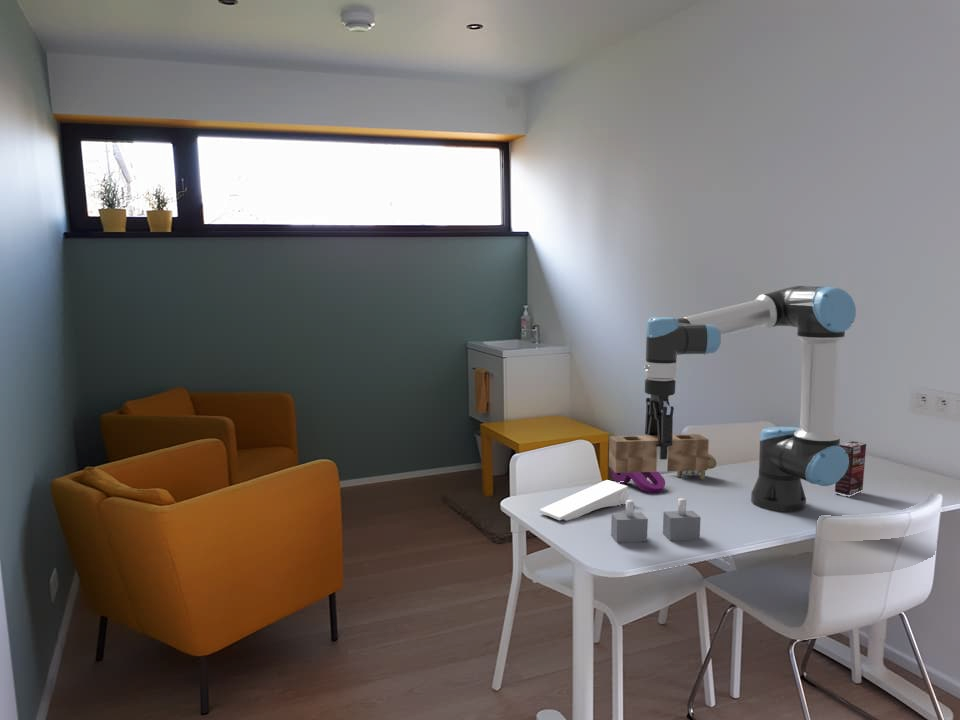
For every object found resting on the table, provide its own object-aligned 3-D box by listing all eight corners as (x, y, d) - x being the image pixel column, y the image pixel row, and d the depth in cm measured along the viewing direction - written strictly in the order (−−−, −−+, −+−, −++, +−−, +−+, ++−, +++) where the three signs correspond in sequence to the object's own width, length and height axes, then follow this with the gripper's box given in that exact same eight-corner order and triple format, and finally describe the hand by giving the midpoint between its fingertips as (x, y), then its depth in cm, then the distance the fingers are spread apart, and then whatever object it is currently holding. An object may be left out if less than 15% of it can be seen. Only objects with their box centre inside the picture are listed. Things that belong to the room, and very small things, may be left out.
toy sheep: (715, 483, 235) (716, 450, 233) (662, 478, 240) (663, 445, 239) (716, 474, 245) (717, 442, 243) (665, 470, 250) (666, 438, 249)
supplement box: (849, 498, 220) (853, 447, 218) (834, 494, 224) (837, 444, 222) (863, 493, 225) (867, 443, 223) (848, 489, 229) (851, 440, 227)
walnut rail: (698, 463, 189) (699, 434, 188) (707, 470, 183) (708, 439, 182) (608, 466, 187) (609, 436, 186) (615, 472, 181) (616, 441, 180)
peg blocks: (691, 532, 191) (693, 496, 190) (699, 539, 186) (701, 502, 185) (611, 535, 189) (612, 498, 187) (616, 542, 184) (617, 504, 182)
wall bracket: (561, 542, 199) (628, 509, 216) (563, 520, 197) (631, 488, 213) (536, 524, 207) (604, 493, 223) (539, 502, 204) (606, 473, 220)
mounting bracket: (662, 506, 230) (631, 469, 244) (671, 486, 226) (639, 450, 240) (638, 510, 226) (608, 473, 240) (647, 490, 222) (615, 453, 235)
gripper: (634, 373, 191) (631, 458, 194) (658, 384, 172) (655, 478, 175) (661, 373, 192) (658, 457, 195) (689, 384, 173) (685, 477, 176)
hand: (657, 467), depth 185 cm, fingers closed on walnut rail, 6 cm apart
